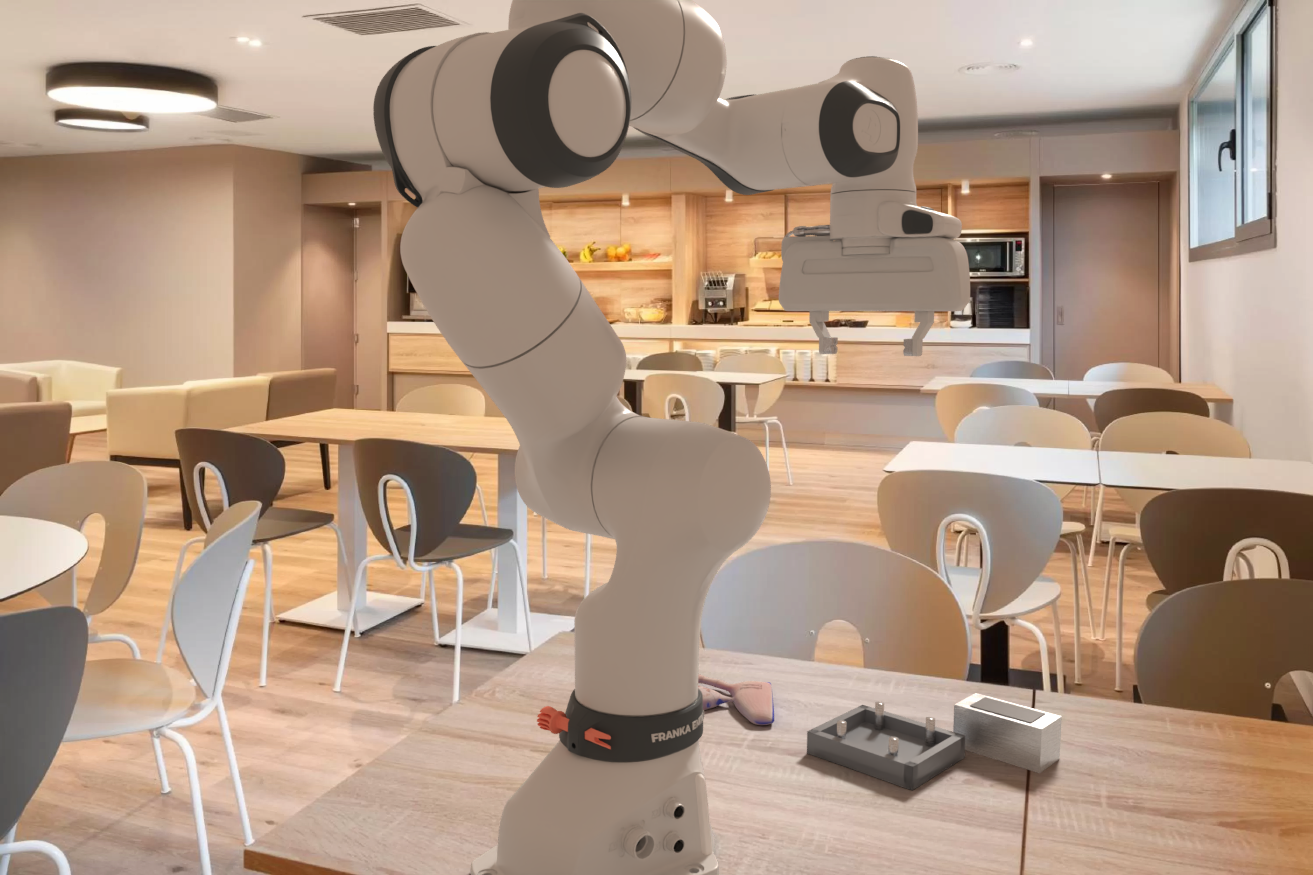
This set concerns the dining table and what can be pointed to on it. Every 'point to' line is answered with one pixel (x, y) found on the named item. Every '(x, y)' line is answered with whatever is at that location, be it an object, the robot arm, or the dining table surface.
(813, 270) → the robot arm
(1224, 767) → the dining table surface
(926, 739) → the pin tray
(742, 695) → the anatomical model
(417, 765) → the dining table surface
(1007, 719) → the block
